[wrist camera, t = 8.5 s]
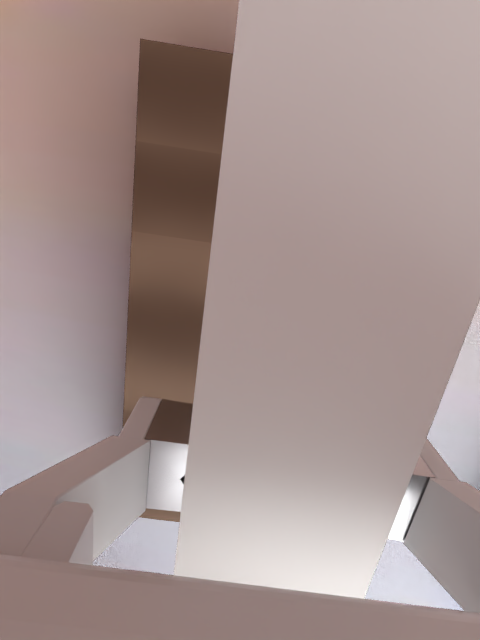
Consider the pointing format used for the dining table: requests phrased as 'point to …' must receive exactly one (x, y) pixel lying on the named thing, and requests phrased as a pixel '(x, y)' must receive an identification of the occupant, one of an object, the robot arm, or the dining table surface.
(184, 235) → the socket board
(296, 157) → the power strip
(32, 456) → the dining table surface
